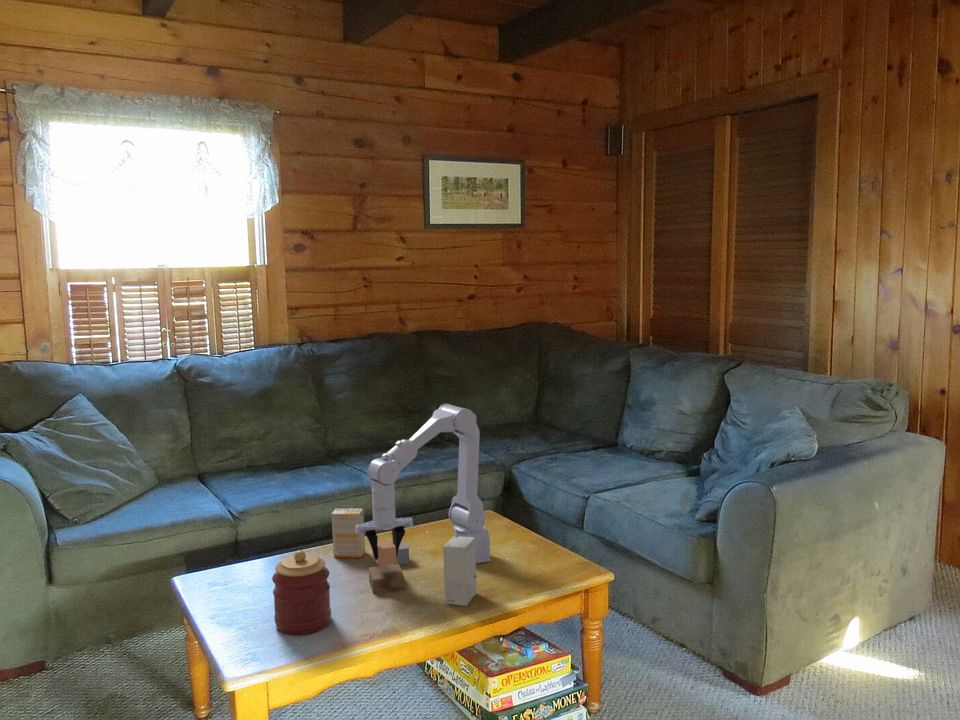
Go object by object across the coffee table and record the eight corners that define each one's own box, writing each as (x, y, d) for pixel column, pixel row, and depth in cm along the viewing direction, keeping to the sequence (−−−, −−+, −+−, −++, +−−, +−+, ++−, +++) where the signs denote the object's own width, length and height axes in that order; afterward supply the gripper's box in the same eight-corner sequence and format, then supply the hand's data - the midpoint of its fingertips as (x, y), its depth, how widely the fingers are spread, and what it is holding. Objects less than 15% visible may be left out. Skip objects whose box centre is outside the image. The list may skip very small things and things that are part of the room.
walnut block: (399, 578, 214) (399, 563, 213) (404, 590, 206) (403, 575, 206) (369, 582, 212) (368, 567, 211) (373, 594, 204) (372, 579, 204)
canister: (265, 621, 190) (261, 549, 188) (316, 605, 198) (312, 536, 196) (289, 642, 180) (285, 566, 178) (341, 624, 188) (338, 552, 186)
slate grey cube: (405, 557, 227) (404, 542, 227) (409, 563, 223) (408, 547, 222) (389, 560, 226) (389, 544, 225) (393, 565, 222) (392, 550, 221)
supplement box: (365, 551, 232) (364, 508, 230) (361, 558, 227) (359, 513, 225) (337, 551, 233) (335, 507, 231) (333, 557, 228) (330, 513, 226)
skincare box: (466, 607, 196) (465, 548, 194) (443, 604, 198) (442, 546, 196) (477, 592, 204) (476, 536, 202) (454, 590, 206) (453, 534, 203)
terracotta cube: (392, 557, 211) (391, 540, 210) (396, 563, 207) (395, 546, 206) (375, 559, 210) (374, 543, 209) (379, 566, 205) (378, 549, 205)
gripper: (358, 514, 200) (360, 566, 202) (415, 506, 205) (416, 558, 207) (353, 505, 206) (355, 556, 208) (408, 498, 211) (409, 548, 213)
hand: (385, 556), depth 208 cm, fingers closed on terracotta cube, 4 cm apart
